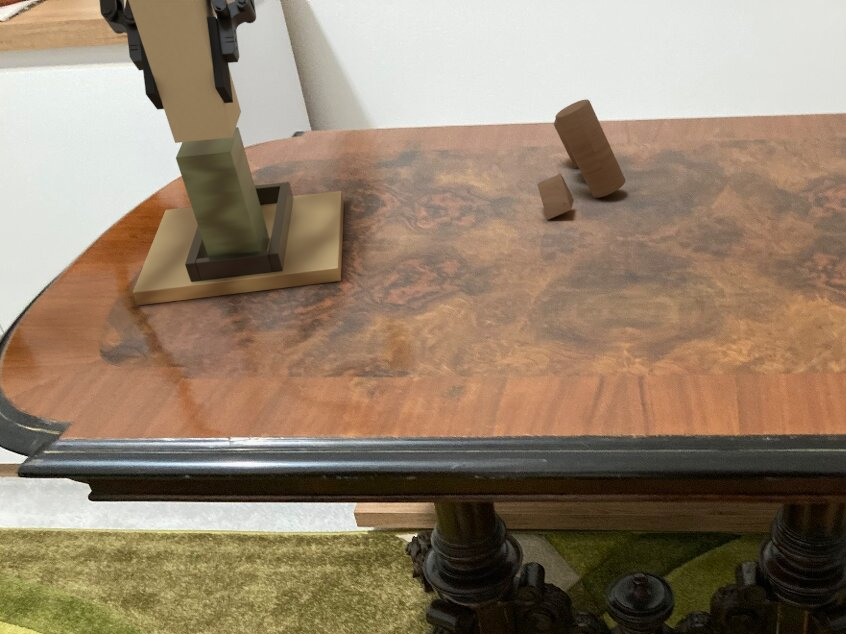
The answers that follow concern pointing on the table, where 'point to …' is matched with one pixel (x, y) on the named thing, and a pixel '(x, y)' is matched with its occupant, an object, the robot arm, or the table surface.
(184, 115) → the cream back pad
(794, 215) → the table surface
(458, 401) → the table surface
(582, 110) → the wooden block set
